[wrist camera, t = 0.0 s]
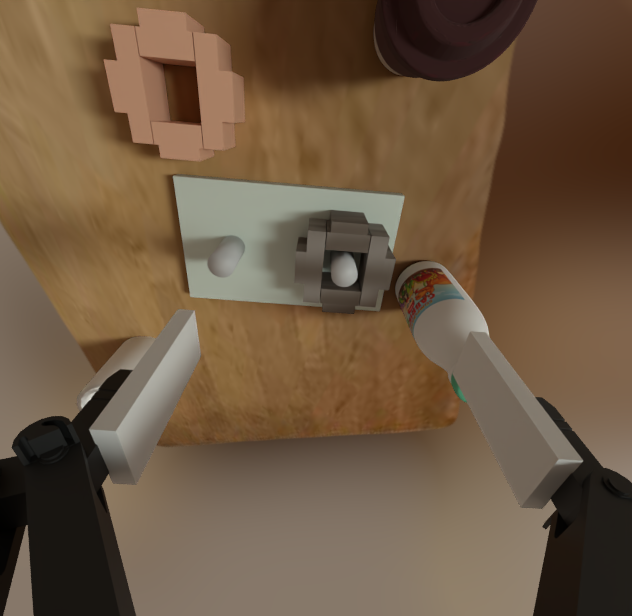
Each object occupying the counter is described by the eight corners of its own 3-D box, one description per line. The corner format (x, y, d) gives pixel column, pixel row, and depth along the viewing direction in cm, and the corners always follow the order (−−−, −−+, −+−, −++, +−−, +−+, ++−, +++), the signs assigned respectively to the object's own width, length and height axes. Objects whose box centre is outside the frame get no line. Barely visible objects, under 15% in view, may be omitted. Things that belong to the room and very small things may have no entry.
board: (177, 173, 38) (148, 185, 31) (401, 193, 38) (418, 208, 32) (194, 291, 46) (173, 320, 40) (378, 305, 47) (387, 335, 40)
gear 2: (300, 207, 38) (297, 218, 34) (393, 215, 38) (403, 227, 34) (295, 290, 44) (293, 309, 40) (377, 296, 44) (383, 316, 40)
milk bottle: (455, 260, 43) (545, 355, 26) (442, 308, 47) (511, 419, 30) (399, 258, 43) (450, 352, 26) (390, 306, 47) (429, 416, 30)
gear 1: (123, 18, 31) (91, 3, 26) (242, 30, 31) (229, 17, 27) (146, 150, 36) (123, 154, 32) (246, 159, 37) (236, 164, 32)
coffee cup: (386, 113, 34) (425, 111, 21) (340, 8, 30) (355, -72, 17) (476, 50, 31) (584, 6, 19) (441, -75, 27) (548, -245, 14)
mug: (204, 386, 56) (181, 439, 47) (156, 401, 58) (126, 454, 49) (157, 328, 49) (120, 375, 40) (105, 347, 52) (59, 396, 42)
